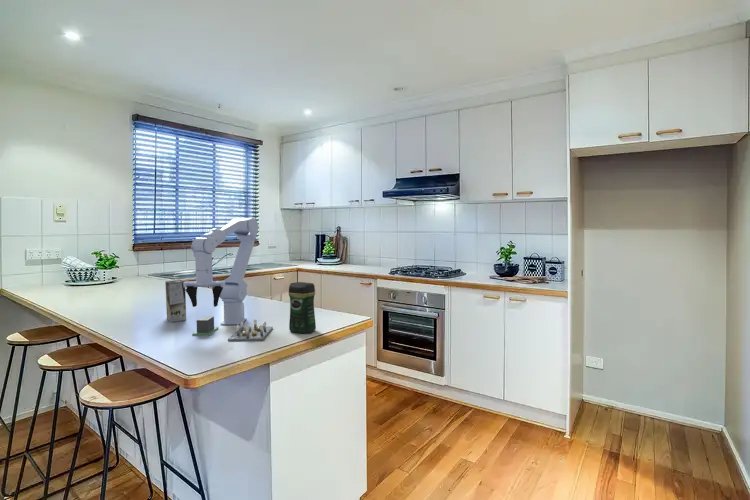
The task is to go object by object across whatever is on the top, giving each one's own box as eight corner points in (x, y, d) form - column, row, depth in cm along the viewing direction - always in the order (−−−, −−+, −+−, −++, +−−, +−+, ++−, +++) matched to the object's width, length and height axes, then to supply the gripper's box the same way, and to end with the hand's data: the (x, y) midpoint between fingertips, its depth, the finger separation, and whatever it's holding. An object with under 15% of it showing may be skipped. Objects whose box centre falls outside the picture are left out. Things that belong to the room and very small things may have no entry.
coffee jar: (319, 330, 154) (318, 281, 153) (306, 335, 147) (306, 284, 146) (298, 327, 158) (298, 280, 157) (285, 332, 151) (284, 282, 150)
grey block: (202, 329, 156) (202, 315, 155) (218, 329, 156) (218, 315, 155) (192, 336, 147) (191, 321, 146) (208, 336, 147) (208, 321, 146)
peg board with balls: (241, 328, 156) (241, 318, 155) (272, 328, 156) (272, 318, 156) (228, 341, 140) (227, 329, 139) (263, 340, 140) (262, 329, 140)
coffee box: (187, 320, 169) (185, 282, 168) (170, 322, 166) (168, 283, 165) (182, 316, 177) (181, 279, 176) (166, 318, 173) (164, 281, 172)
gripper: (179, 271, 145) (180, 308, 146) (220, 271, 145) (221, 308, 146) (187, 269, 152) (188, 304, 153) (226, 268, 152) (227, 304, 153)
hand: (205, 306), depth 150 cm, fingers open, 7 cm apart
